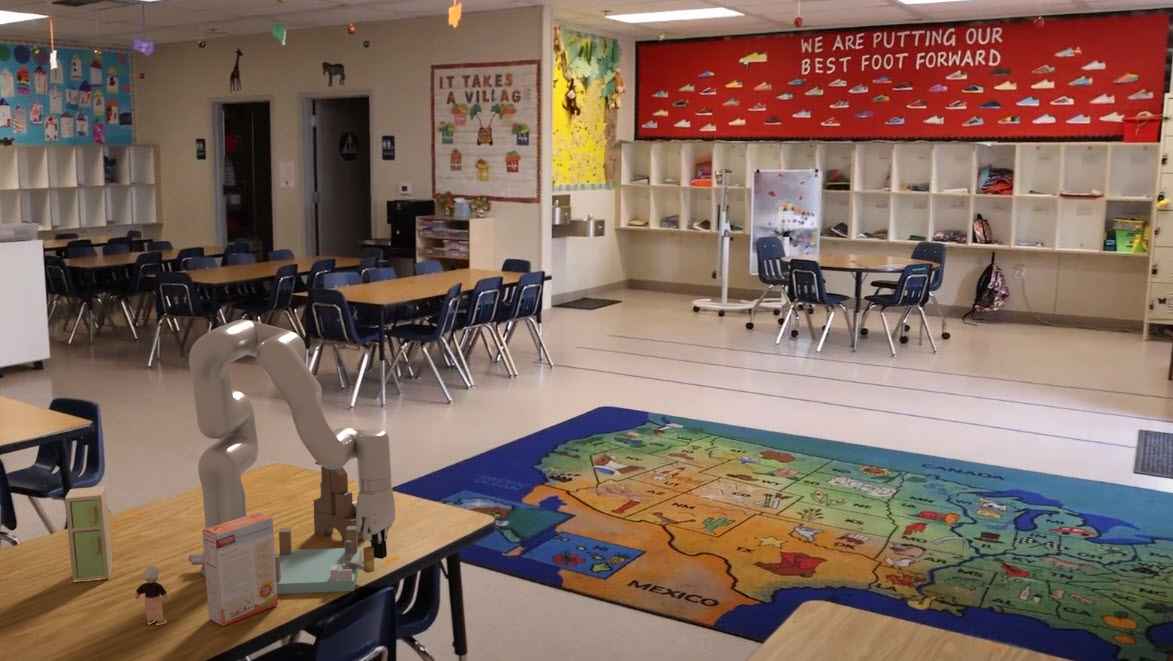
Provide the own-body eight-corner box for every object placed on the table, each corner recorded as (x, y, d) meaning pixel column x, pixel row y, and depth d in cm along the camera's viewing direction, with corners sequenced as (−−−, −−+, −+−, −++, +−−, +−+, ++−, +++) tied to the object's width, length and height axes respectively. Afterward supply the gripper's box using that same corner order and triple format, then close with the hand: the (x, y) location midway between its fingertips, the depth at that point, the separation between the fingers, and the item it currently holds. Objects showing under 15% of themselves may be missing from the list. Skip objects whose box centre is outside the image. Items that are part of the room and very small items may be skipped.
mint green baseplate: (264, 594, 242) (262, 559, 240) (279, 560, 261) (277, 527, 260) (353, 590, 244) (352, 556, 242) (361, 557, 263) (360, 524, 262)
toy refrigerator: (71, 584, 246) (63, 498, 242) (77, 572, 253) (70, 488, 249) (108, 581, 248) (101, 495, 244) (113, 569, 255) (106, 485, 251)
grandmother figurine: (175, 618, 229) (171, 563, 227) (169, 626, 226) (165, 570, 223) (139, 618, 229) (135, 563, 227) (132, 626, 225) (128, 570, 223)
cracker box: (263, 598, 240) (258, 510, 236) (278, 606, 236) (274, 516, 232) (206, 619, 229) (201, 527, 225) (222, 627, 225) (216, 534, 221)
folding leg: (342, 564, 251) (341, 542, 250) (350, 561, 253) (349, 539, 252) (368, 573, 246) (368, 551, 245) (376, 570, 248) (375, 548, 247)
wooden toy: (370, 536, 277) (368, 444, 272) (352, 544, 271) (349, 450, 267) (328, 524, 285) (325, 435, 281) (309, 532, 280) (305, 441, 275)
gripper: (379, 471, 255) (383, 543, 259) (342, 491, 242) (347, 566, 245) (406, 474, 253) (409, 547, 256) (370, 494, 239) (375, 571, 242)
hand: (379, 556), depth 251 cm, fingers closed
